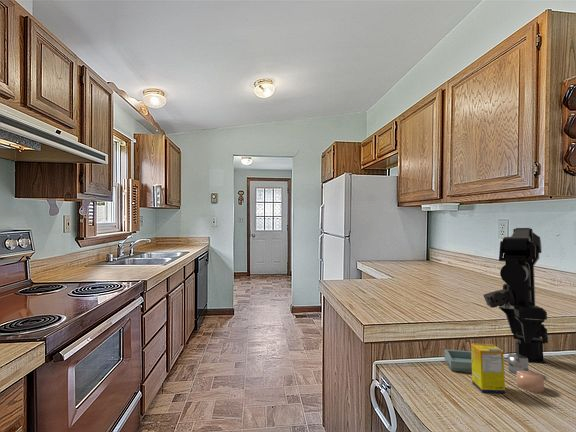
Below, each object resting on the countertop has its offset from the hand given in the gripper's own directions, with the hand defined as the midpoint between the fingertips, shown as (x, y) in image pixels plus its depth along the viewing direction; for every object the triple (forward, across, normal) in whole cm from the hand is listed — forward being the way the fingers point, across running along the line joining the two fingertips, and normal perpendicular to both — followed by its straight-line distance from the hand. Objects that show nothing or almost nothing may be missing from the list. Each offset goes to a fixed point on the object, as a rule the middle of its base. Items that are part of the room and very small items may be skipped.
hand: (520, 338), depth 93 cm
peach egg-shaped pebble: (+12, +2, +1) cm, 13 cm away
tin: (+12, -9, +2) cm, 15 cm away
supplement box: (+13, +5, -10) cm, 17 cm away
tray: (+12, -10, -12) cm, 20 cm away
